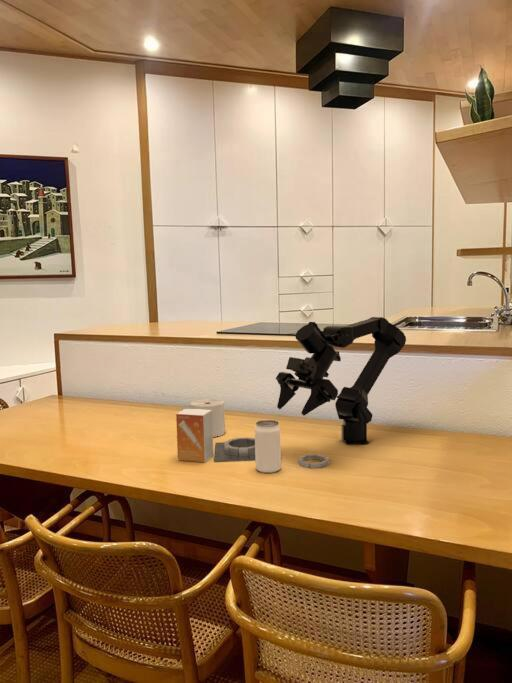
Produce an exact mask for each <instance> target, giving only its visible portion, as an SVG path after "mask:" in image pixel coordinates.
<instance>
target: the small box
mask: <svg viewBox="0 0 512 683" xmlns="http://www.w3.org/2000/svg"><path fill="white" fill-rule="evenodd" d="M175 416H176V417H175V418H176V420H175V421H176V438H177V439H176V445H177V447H176V448H177V461H183V462H184V461H186V462H197V463H206V462H207V461H208V460H210V459H211V458H212V457H214V437H213V425H212V410H203V409H184V410H182V409H181V410H180V411H179V412H177V413H176V414H175Z"/></svg>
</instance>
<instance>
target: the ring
mask: <svg viewBox="0 0 512 683" xmlns="http://www.w3.org/2000/svg"><path fill="white" fill-rule="evenodd" d="M297 459H298V460H297V461H298V464H299V466H300V467H303V466H304V468H308V469H317V468H318V469H321V467H322V468H324V467H327V466H328V464H329V465H330V459H329V458H328V456H327V455H323V454H318V453H317V454H311V453H310V454H304V455H302V456H300V457H298V458H297ZM308 460H320V462H308Z"/></svg>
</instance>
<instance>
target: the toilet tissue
mask: <svg viewBox="0 0 512 683" xmlns="http://www.w3.org/2000/svg"><path fill="white" fill-rule="evenodd" d="M180 407H181V408H180V409H181V411H182V410H184V409H203V410H212V425H213V438H216V437H217V436H218V437H221V436H223V435H224V434H225V433H226V421H225V420H226V419H225V418H226V416H225V401H224V400H222V399H219V398H218V399H216V398H205V399H198V400H194V401H191V402H190V405H185V404H184V405H183V404H181V405H180Z"/></svg>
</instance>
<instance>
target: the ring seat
mask: <svg viewBox="0 0 512 683" xmlns="http://www.w3.org/2000/svg"><path fill="white" fill-rule="evenodd" d="M245 461H246V462H250V461H255V437H248V436H247V437H236V438H231V439H228V440H227V441H223V442H222V441H221V442H215V445H214V453H213V463H223V462H225V463H226V462H245Z"/></svg>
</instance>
